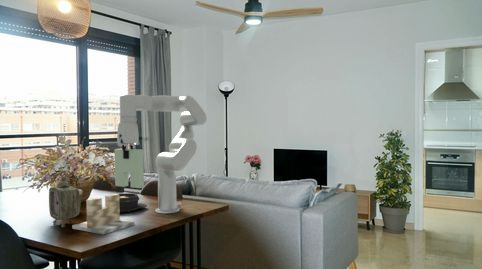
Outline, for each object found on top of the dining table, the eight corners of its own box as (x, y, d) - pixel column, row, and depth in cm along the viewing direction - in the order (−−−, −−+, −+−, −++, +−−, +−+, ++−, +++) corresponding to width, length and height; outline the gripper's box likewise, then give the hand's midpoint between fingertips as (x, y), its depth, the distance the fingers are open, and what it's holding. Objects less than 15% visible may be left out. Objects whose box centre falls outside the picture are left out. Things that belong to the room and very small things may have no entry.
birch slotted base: (104, 219, 189) (103, 192, 188) (134, 224, 179) (134, 195, 178) (72, 228, 173) (71, 198, 173) (103, 234, 163) (102, 202, 163)
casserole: (104, 217, 194) (103, 200, 194) (95, 210, 209) (94, 195, 209) (152, 211, 208) (151, 195, 208) (140, 205, 223) (140, 190, 223)
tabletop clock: (49, 223, 182) (48, 170, 181) (69, 220, 188) (68, 169, 188) (60, 229, 172) (59, 173, 171) (81, 225, 178) (80, 171, 177)
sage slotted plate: (119, 185, 192) (119, 148, 191) (144, 187, 184) (143, 149, 184) (115, 185, 189) (114, 149, 189) (139, 188, 181) (138, 149, 181)
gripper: (134, 120, 195) (135, 157, 195) (109, 120, 181) (110, 159, 181) (146, 120, 191) (146, 157, 192) (120, 120, 177) (121, 160, 177)
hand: (128, 158), depth 186 cm, fingers closed on sage slotted plate, 3 cm apart
